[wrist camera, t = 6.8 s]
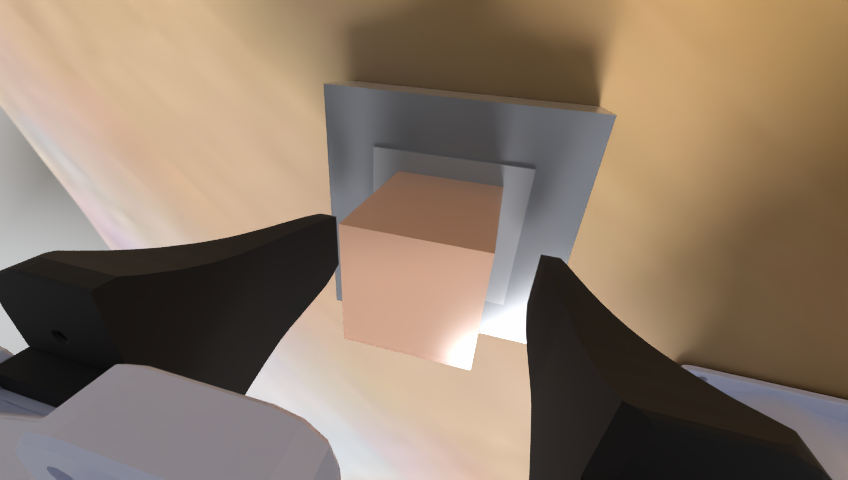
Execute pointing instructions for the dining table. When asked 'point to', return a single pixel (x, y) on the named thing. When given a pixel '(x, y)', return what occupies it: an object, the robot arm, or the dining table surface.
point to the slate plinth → (474, 169)
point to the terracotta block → (420, 266)
